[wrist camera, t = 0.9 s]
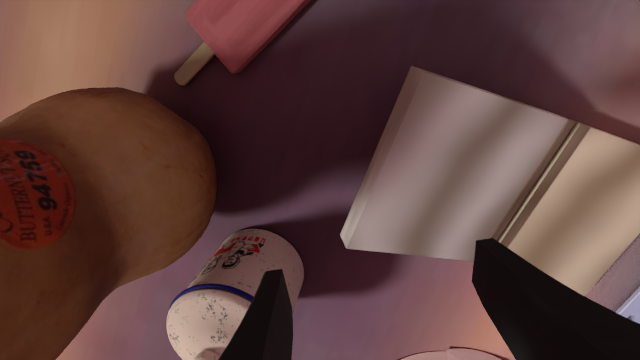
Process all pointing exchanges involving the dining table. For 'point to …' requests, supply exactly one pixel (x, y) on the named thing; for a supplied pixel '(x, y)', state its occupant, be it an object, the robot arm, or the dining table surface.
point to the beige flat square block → (449, 169)
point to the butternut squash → (91, 208)
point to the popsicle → (235, 31)
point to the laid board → (580, 209)
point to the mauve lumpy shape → (453, 355)
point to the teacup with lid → (229, 292)
